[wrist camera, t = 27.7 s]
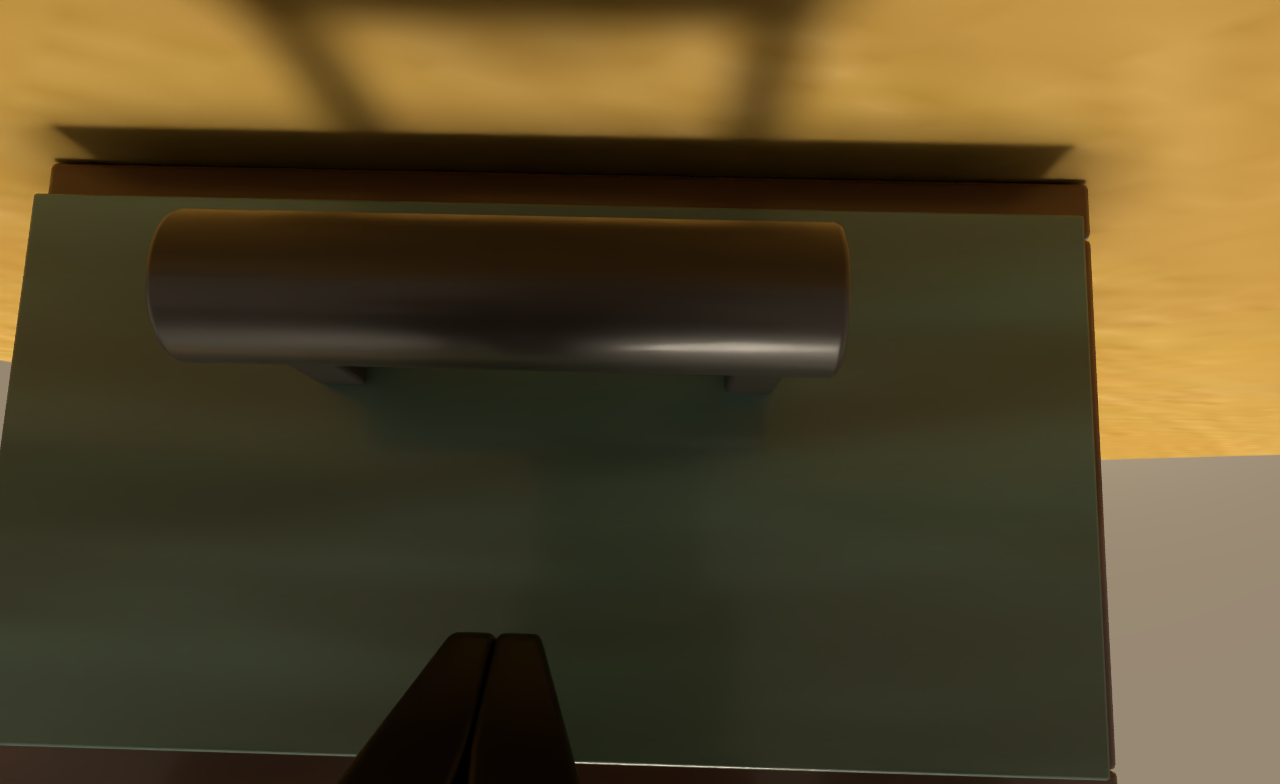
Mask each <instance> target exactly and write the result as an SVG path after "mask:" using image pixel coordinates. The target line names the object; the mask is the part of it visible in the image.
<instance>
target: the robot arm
mask: <svg viewBox="0 0 1280 784" xmlns="http://www.w3.org/2000/svg"><path fill="white" fill-rule="evenodd" d="M335 784H581V782H580V778H579V775H578V771H577V767H576V764H575V760H574V756H573V752H572V749H571V745H570V741H569V738H568V734H567V730H566V727H565V723H564V719H563V715H562V712H561V708H560V704H559V701H558V697H557V693H556V689H555V686H554V682H553V678H552V675H551V671H550V667H549V664H548V660H547V656H546V652H545V649H544V645H543V642H542V639H541V638H540V636H538V635H537V634H522V633H503V634H500V635H499V636H498V637H497V639H496V637H495V636H494V635H493V634H491V633H486V632H455V633H453V634H451V635H450V636H449V637H448V638H447V639H446V640H445V641H444V643H443V644H442V645H441V647H440V648H439V649H438V650H437V652H436V653H435V654H434V656H433V657H432V658H431V660H430V661H429V662H428V663H427V665H426V666H425V667H424V669H423V670H422V671H421V673H420V674H419V675H418V676H417V678H416V679H415V680H414V682H413V683H412V684H411V686H410V687H409V688H408V689H407V691H406V692H405V693H404V695H403V696H402V697H401V699H400V700H399V701H398V702H397V704H396V705H395V706H394V708H393V709H392V710H391V712H390V713H389V714H388V715H387V717H386V718H385V719H384V721H383V722H382V723H381V725H380V726H379V727H378V728H377V730H376V731H375V732H374V734H373V735H372V736H371V738H370V739H369V740H368V741H367V743H366V744H365V745H364V747H363V748H362V749H361V751H360V752H359V753H358V754H357V756H356V757H355V758H354V760H353V761H352V762H351V764H350V765H349V766H348V767H347V769H346V770H345V771H344V773H343V774H342V775H341V777H340V778H339V779H338V780H337V782H336V783H335Z"/></svg>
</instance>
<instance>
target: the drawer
mask: <svg viewBox="0 0 1280 784" xmlns="http://www.w3.org/2000/svg"><path fill="white" fill-rule="evenodd" d="M455 632H486V633H491V634H493V635H494V636H495V637H496V639H497V637H498V636H499V635H500V634H503V633H522V634H537V635H538V636H540V638H541V639H542V642H543V645H544V649H545V652H546V656H547V660H548V664H549V667H550V671H551V675H552V678H553V682H554V686H555V689H556V693H557V697H558V701H559V704H560V708H561V712H562V715H563V719H564V723H565V727H566V730H567V734H568V738H569V741H570V745H571V749H572V752H573V756H574V760H575V764H600V765H632V766H663V767H694V768H725V769H757V770H788V771H819V772H851V773H882V774H913V775H944V776H976V777H1007V778H1038V779H1070V780H1101V781H1106V780H1109V779H1110V765H1109V744H1108V723H1107V702H1106V681H1105V659H1104V638H1103V617H1102V596H1101V575H1100V554H1099V533H1098V512H1097V491H1096V470H1095V449H1094V428H1093V406H1092V385H1091V364H1090V343H1089V322H1088V301H1087V280H1086V259H1085V238H1084V218H1083V216H1072V215H1025V214H978V213H930V212H883V211H836V210H789V209H741V208H694V207H647V206H599V205H552V204H505V203H458V202H410V201H363V200H316V199H268V198H221V197H174V196H126V195H79V194H35V196H34V201H33V208H32V216H31V223H30V231H29V238H28V246H27V253H26V261H25V268H24V276H23V283H22V290H21V298H20V305H19V313H18V320H17V328H16V335H15V343H14V350H13V358H12V365H11V373H10V380H9V388H8V395H7V403H6V410H5V417H4V425H3V432H2V440H1V447H0V745H6V746H37V747H68V748H100V749H131V750H162V751H193V752H225V753H256V754H287V755H319V756H350V757H356V756H357V754H358V753H359V752H360V751H361V749H362V748H363V747H364V745H365V744H366V743H367V741H368V740H369V739H370V738H371V736H372V735H373V734H374V732H375V731H376V730H377V728H378V727H379V726H380V725H381V723H382V722H383V721H384V719H385V718H386V717H387V715H388V714H389V713H390V712H391V710H392V709H393V708H394V706H395V705H396V704H397V702H398V701H399V700H400V699H401V697H402V696H403V695H404V693H405V692H406V691H407V689H408V688H409V687H410V686H411V684H412V683H413V682H414V680H415V679H416V678H417V676H418V675H419V674H420V673H421V671H422V670H423V669H424V667H425V666H426V665H427V663H428V662H429V661H430V660H431V658H432V657H433V656H434V654H435V653H436V652H437V650H438V649H439V648H440V647H441V645H442V644H443V643H444V641H445V640H446V639H447V638H448V637H449V636H450V635H451V634H453V633H455Z"/></svg>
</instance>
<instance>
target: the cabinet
mask: <svg viewBox="0 0 1280 784" xmlns="http://www.w3.org/2000/svg"><path fill="white" fill-rule="evenodd" d="M48 194H79V195H126V196H174V197H221V198H268V199H316V200H363V201H410V202H458V203H505V204H552V205H599V206H647V207H694V208H741V209H789V210H836V211H883V212H930V213H978V214H1025V215H1072V216H1083V218H1084V238H1085V240H1086V239H1088V237H1089V235H1090V226H1089V205H1088V189H1087V187H1086V186H1084V185H1061V184H1012V183H963V182H915V181H866V180H817V179H769V178H720V177H671V176H623V175H574V174H525V173H477V172H428V171H380V170H331V169H282V168H234V167H185V166H136V165H88V164H55V165H53V167H52V171H51V178H50V186H49V193H48ZM1085 259H1086V280H1087V301H1088V322H1089V343H1090V364H1091V385H1092V406H1093V428H1094V449H1095V470H1096V491H1097V512H1098V533H1099V554H1100V575H1101V596H1102V617H1103V638H1104V659H1105V681H1106V702H1107V723H1108V744H1109V765H1110V770H1111V769H1113V768H1114V767H1115V747H1114V725H1113V705H1112V686H1111V665H1110V643H1109V623H1108V602H1107V581H1106V561H1105V560H1106V559H1105V541H1104V540H1105V539H1104V518H1103V500H1102V498H1103V497H1102V477H1101V456H1100V435H1099V415H1098V394H1097V373H1096V353H1095V332H1094V311H1093V291H1092V270H1091V249H1090V243H1089V242H1088V241H1085ZM354 758H355V757H350V756H319V755H287V754H256V753H225V752H193V751H162V750H131V749H100V748H68V747H37V746H6V745H0V784H335V783H336V782H337V780H338V779H339V778H340V777H341V775H342V774H343V773H344V771H345V770H346V769H347V767H348V766H349V765H350V764H351V762H352V761H353V760H354ZM576 767H577V771H578V775H579V778H580V782H581V784H1117V776H1116V774H1115V773H1114V772H1112V771H1110V779H1109V780H1106V781H1101V780H1070V779H1038V778H1007V777H976V776H944V775H913V774H882V773H851V772H819V771H788V770H757V769H725V768H694V767H663V766H632V765H600V764H576Z"/></svg>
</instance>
